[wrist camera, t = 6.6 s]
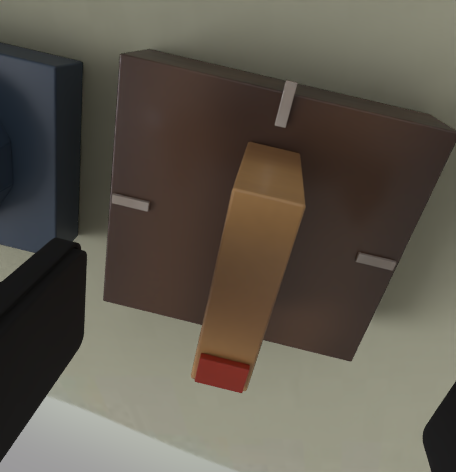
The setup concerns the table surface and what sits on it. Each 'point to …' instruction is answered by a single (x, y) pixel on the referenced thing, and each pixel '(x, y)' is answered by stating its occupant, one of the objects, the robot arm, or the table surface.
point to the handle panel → (223, 178)
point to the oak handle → (249, 265)
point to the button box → (39, 147)
